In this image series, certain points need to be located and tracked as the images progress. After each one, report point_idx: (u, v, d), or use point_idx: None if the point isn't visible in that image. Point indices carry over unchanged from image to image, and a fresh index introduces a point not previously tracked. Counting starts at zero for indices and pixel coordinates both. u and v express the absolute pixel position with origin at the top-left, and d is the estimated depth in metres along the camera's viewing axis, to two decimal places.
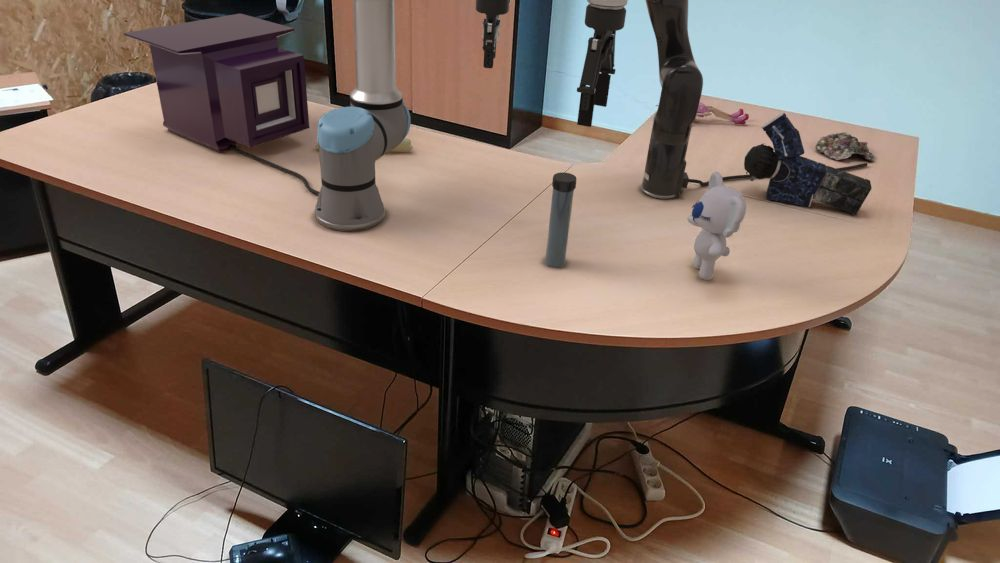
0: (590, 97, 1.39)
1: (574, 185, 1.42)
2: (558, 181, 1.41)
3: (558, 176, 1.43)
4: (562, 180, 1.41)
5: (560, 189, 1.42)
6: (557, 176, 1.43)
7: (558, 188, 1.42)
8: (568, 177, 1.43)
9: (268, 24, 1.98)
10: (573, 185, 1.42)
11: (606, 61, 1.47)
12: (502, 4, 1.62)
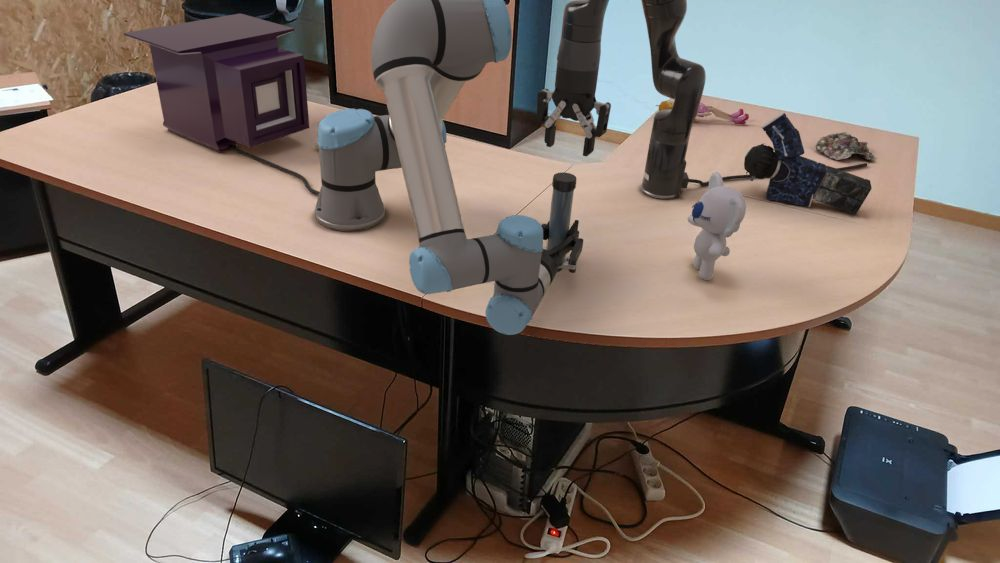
0: None
1: (574, 185, 1.42)
2: (558, 181, 1.41)
3: (558, 176, 1.43)
4: (562, 180, 1.41)
5: (560, 189, 1.42)
6: (557, 176, 1.43)
7: (558, 188, 1.42)
8: (568, 177, 1.43)
9: (268, 24, 1.98)
10: (573, 185, 1.42)
11: None
12: None
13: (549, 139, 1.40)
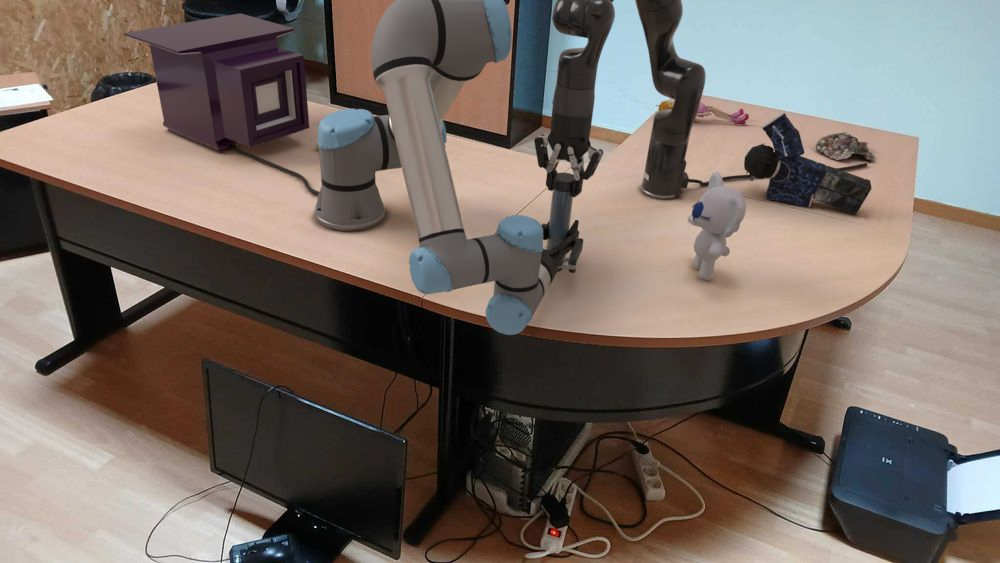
0: None
1: None
2: (558, 181, 1.41)
3: (558, 176, 1.43)
4: (562, 180, 1.41)
5: (560, 189, 1.42)
6: (557, 176, 1.43)
7: (558, 188, 1.42)
8: (568, 177, 1.43)
9: (268, 24, 1.98)
10: None
11: None
12: None
13: (550, 183, 1.44)
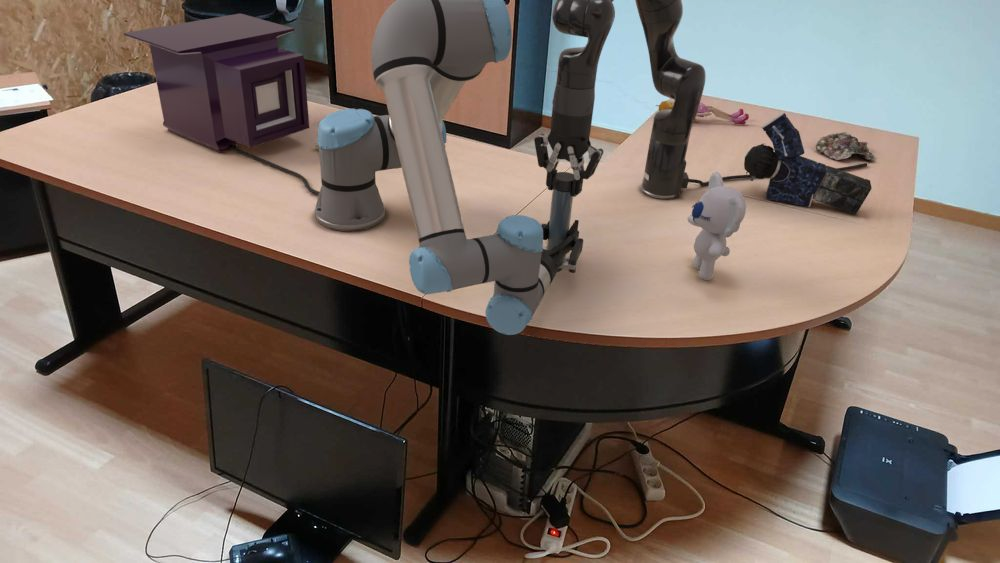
0: None
1: None
2: None
3: (566, 179, 1.42)
4: None
5: None
6: (567, 179, 1.41)
7: None
8: (564, 175, 1.43)
9: (268, 24, 1.98)
10: None
11: None
12: None
13: (550, 183, 1.44)
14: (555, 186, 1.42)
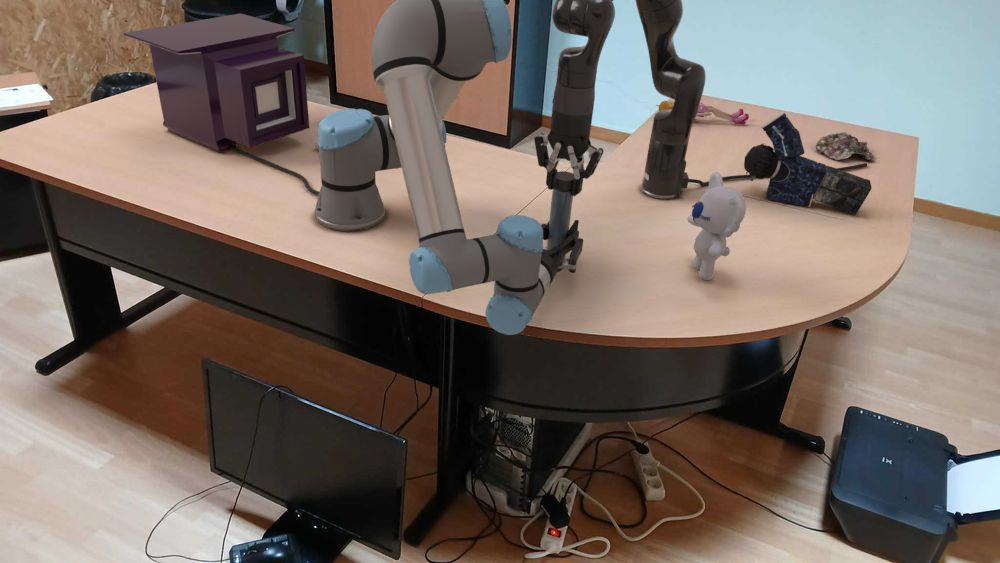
0: None
1: (553, 181, 1.43)
2: None
3: (570, 174, 1.43)
4: (561, 172, 1.44)
5: None
6: (571, 174, 1.43)
7: None
8: (561, 176, 1.42)
9: (268, 24, 1.98)
10: None
11: None
12: None
13: (551, 182, 1.44)
14: None
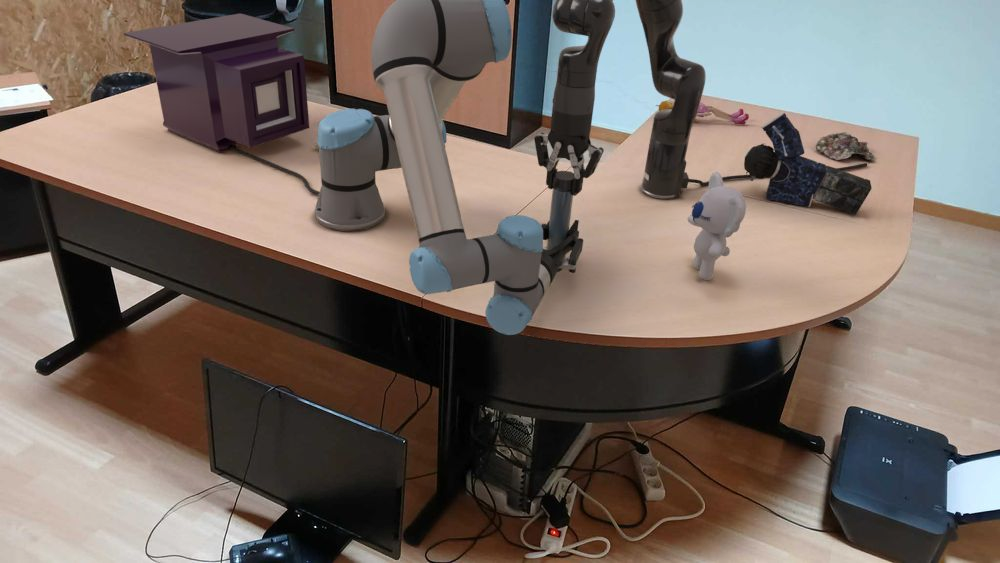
0: None
1: (569, 185, 1.41)
2: (554, 177, 1.42)
3: (559, 173, 1.43)
4: (557, 176, 1.42)
5: (554, 185, 1.42)
6: (559, 173, 1.43)
7: (553, 184, 1.43)
8: (567, 176, 1.42)
9: (268, 24, 1.98)
10: (567, 185, 1.41)
11: None
12: None
13: (551, 182, 1.44)
14: None
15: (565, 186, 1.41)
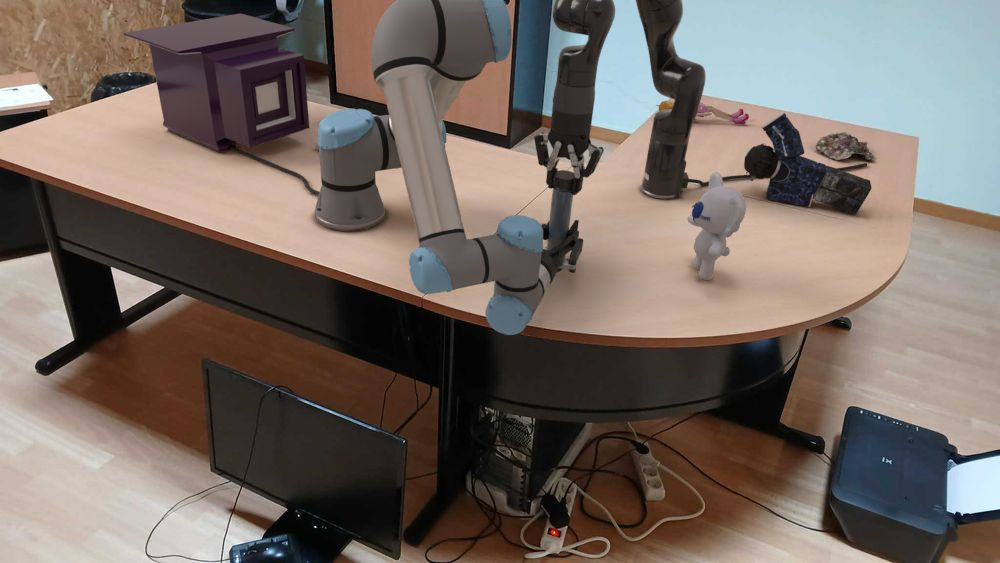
0: None
1: None
2: (571, 180, 1.41)
3: (562, 177, 1.41)
4: (572, 177, 1.42)
5: None
6: (562, 177, 1.41)
7: (571, 186, 1.42)
8: (566, 173, 1.43)
9: (268, 24, 1.98)
10: None
11: None
12: None
13: (551, 181, 1.43)
14: None
15: None
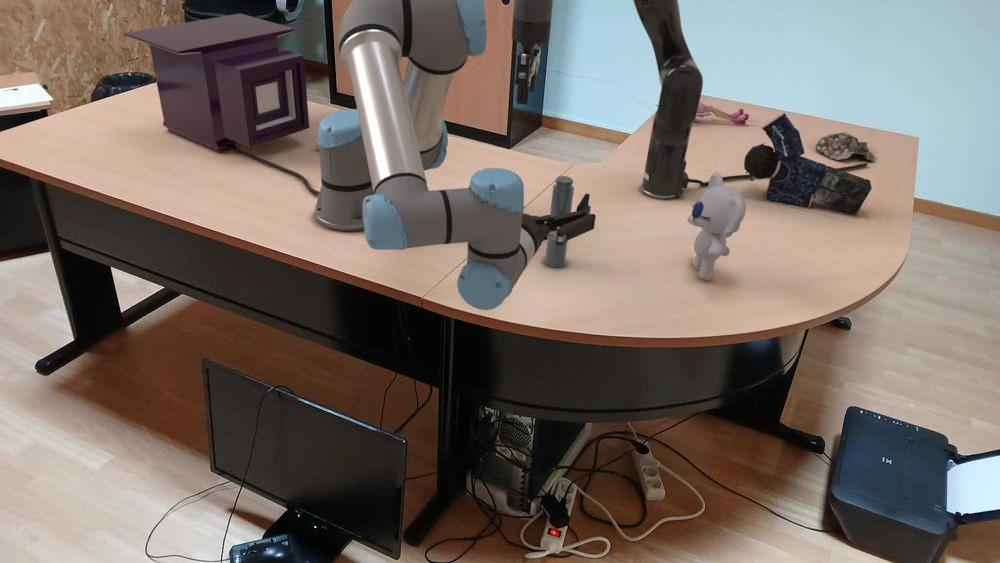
0: None
1: None
2: None
3: None
4: None
5: None
6: None
7: None
8: None
9: (268, 24, 1.98)
10: None
11: None
12: None
13: None
14: None
15: None
